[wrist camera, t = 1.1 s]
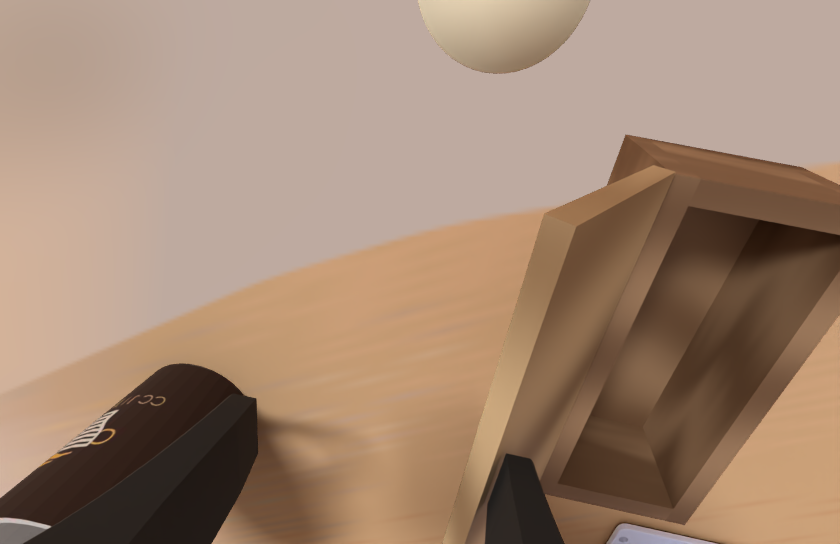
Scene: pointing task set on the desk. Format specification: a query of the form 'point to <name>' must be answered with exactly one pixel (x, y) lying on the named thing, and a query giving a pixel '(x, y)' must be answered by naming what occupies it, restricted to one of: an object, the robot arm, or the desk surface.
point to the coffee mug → (112, 448)
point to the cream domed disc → (501, 30)
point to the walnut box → (701, 329)
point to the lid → (556, 333)
